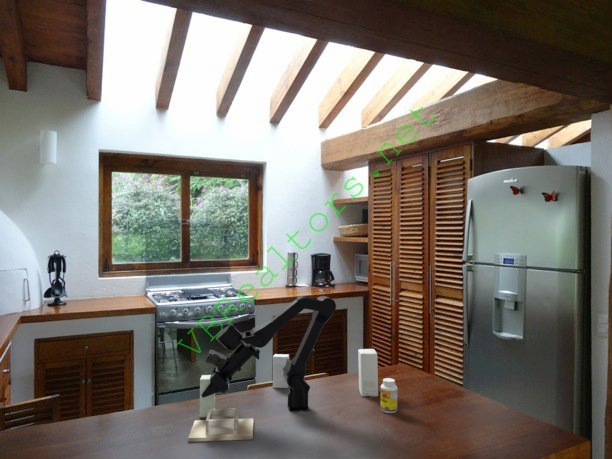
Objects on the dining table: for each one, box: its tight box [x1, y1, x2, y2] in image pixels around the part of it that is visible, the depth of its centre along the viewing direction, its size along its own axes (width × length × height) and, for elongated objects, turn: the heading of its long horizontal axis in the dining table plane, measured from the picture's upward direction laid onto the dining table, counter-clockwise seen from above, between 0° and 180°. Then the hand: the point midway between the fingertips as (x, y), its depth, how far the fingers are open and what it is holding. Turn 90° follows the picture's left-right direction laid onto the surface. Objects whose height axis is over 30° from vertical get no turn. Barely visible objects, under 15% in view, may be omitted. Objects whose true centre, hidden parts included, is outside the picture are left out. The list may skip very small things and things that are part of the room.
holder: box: [187, 407, 254, 443], centre depth 128 cm, size 18×12×5 cm, turn 96°
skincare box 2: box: [357, 348, 379, 398], centre depth 161 cm, size 8×7×16 cm
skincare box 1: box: [272, 353, 290, 389], centre depth 167 cm, size 6×4×12 cm
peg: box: [199, 374, 216, 418], centre depth 140 cm, size 4×4×12 cm
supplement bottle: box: [380, 377, 398, 414], centre depth 144 cm, size 6×6×10 cm
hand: (203, 393), depth 140 cm, fingers closed on peg, 4 cm apart
